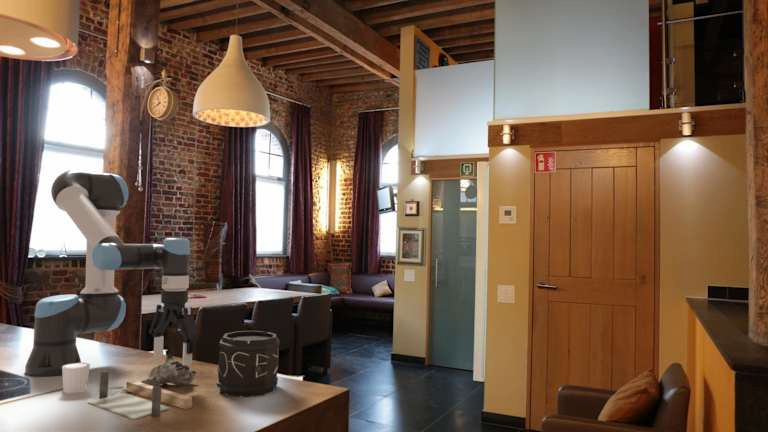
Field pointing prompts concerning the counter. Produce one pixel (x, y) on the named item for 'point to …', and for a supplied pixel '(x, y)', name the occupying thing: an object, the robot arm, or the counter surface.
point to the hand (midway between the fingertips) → (172, 361)
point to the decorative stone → (170, 373)
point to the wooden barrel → (248, 363)
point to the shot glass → (75, 377)
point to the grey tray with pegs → (138, 399)
